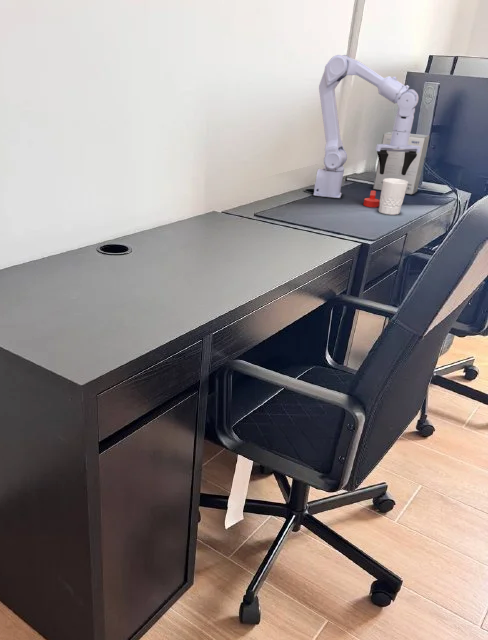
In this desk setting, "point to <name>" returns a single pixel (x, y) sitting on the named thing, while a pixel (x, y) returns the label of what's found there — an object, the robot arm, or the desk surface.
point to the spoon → (371, 200)
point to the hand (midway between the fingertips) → (392, 174)
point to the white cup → (392, 196)
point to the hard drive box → (397, 160)
